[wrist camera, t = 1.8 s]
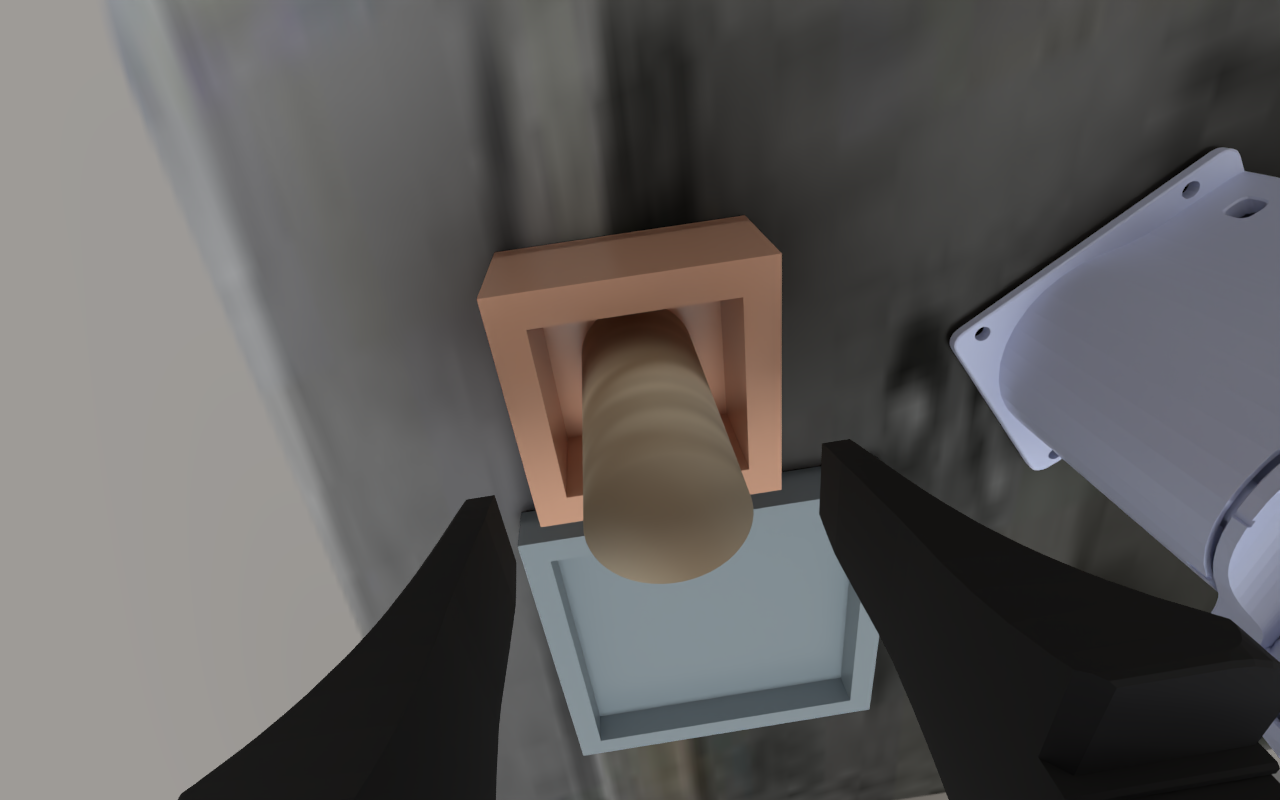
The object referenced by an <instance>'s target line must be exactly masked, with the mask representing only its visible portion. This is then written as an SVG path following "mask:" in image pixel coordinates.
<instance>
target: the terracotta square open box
mask: <svg viewBox="0 0 1280 800" xmlns="http://www.w3.org/2000/svg"><path fill="white" fill-rule="evenodd" d="M477 302H478V306H479V309H480V313H481V316H482V320H483V323H484V327H485V331H486V334H487V338H488V341H489V345H490V348H491V352H492V355H493V359H494V363H495V366H496V370H497V373H498V377H499V380H500V384H501V388H502V391H503V395H504V398H505V402H506V405H507V409H508V412H509V416H510V420H511V423H512V427H513V430H514V434H515V437H516V441H517V444H518V448H519V452H520V455H521V459H522V462H523V466H524V469H525V473H526V477H527V480H528V484H529V487H530V491H531V494H532V498H533V501H534V505H535V509H536V512H537V516H538V519H539V523H540V526H541V527H546V526H553V525H559V524H565V523H572V522H578V521H583V442H582V346H583V342H584V339H585V337H586V334H587V332H588V331H589V329H590V327H591V326H592V325H593V323H594V322H595V321H596V320H597V319H603V318H609V317H616V316H623V315H629V314H636V313H642V312H649V311H656V310H662V309H667V310H669V311H670V312H672V313H673V314H675V315H676V316H677V317H678V318H679V319H680V320H681V321H682V323H683V324H684V325H685V327H686V328H687V330H688V332H689V335H690V337H691V340H692V343H693V345H694V348H695V351H696V353H697V356H698V358H699V361H700V364H701V366H702V369H703V372H704V374H705V377H706V379H707V382H708V385H709V387H710V390H711V393H712V395H713V398H714V401H715V403H716V406H717V408H718V411H719V414H720V416H721V419H722V422H723V424H724V427H725V429H726V432H727V435H728V437H729V440H730V443H731V445H732V448H733V451H734V453H735V456H736V458H737V461H738V464H739V466H740V469H741V472H742V474H743V477H744V479H745V482H746V485H747V487H748V490H749V493H750V495H751V494H757V493H764V492H770V491H777V490H782V253H781V252H780V251H779V250H778V249H777V248H776V247H775V246H774V245H773V244H772V243H771V242H770V241H769V240H768V239H767V238H766V237H765V236H764V235H763V234H762V232H761V231H760V230H759V229H758V228H757V227H756V226H755V225H754V224H753V223H752V222H751V221H750V220H749V219H748V218H747V217H746V216H745V215H743V216H736V217H730V218H723V219H716V220H709V221H703V222H696V223H689V224H682V225H676V226H669V227H662V228H656V229H649V230H642V231H635V232H629V233H622V234H615V235H608V236H602V237H595V238H588V239H582V240H575V241H568V242H561V243H555V244H548V245H541V246H534V247H528V248H521V249H514V250H507V251H501V252H494V255H493V258H492V260H491V263H490V265H489V268H488V271H487V273H486V276H485V279H484V281H483V284H482V287H481V289H480V292H479V294H478V297H477Z"/></svg>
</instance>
